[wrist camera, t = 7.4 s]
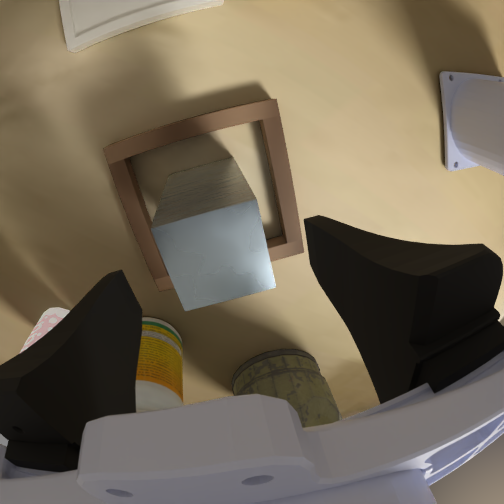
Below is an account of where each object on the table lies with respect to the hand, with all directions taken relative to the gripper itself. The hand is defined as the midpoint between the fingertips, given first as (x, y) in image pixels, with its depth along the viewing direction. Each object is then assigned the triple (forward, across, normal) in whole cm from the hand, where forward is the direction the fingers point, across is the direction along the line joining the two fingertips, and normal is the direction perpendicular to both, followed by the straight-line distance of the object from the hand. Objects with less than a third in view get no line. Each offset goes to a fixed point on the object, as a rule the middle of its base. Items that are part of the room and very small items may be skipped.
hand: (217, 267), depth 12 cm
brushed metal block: (+8, 0, 0) cm, 9 cm away
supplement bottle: (+9, +8, +10) cm, 15 cm away
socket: (+8, 0, 0) cm, 8 cm away
